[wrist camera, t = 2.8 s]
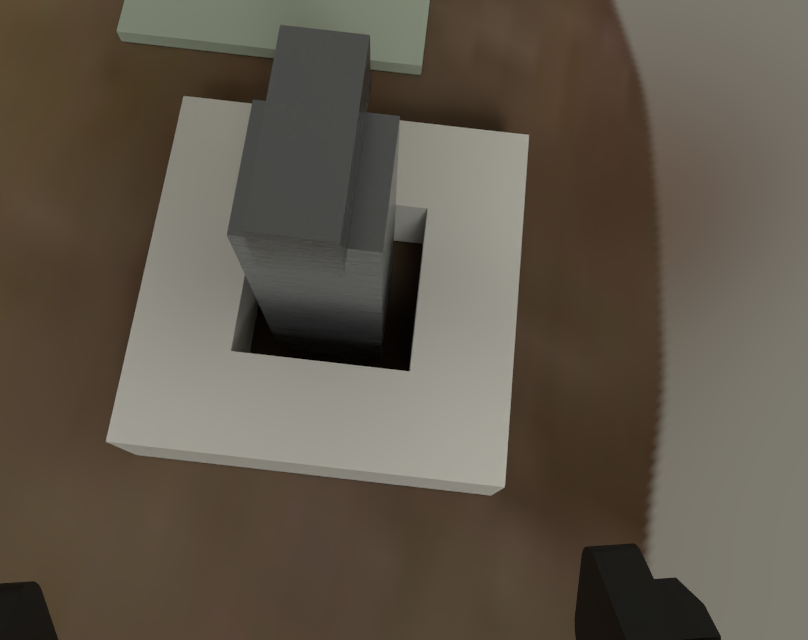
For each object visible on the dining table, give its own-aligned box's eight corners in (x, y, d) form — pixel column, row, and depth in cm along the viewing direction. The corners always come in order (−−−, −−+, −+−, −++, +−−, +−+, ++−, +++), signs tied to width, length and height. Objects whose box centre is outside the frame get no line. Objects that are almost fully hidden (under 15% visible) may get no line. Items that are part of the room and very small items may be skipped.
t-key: (276, 368, 27) (201, 226, 16) (297, 237, 29) (244, 20, 17) (378, 380, 27) (379, 246, 16) (394, 248, 29) (405, 38, 17)
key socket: (135, 454, 26) (105, 441, 23) (202, 140, 30) (183, 96, 27) (491, 495, 26) (504, 487, 23) (514, 176, 30) (529, 135, 27)
